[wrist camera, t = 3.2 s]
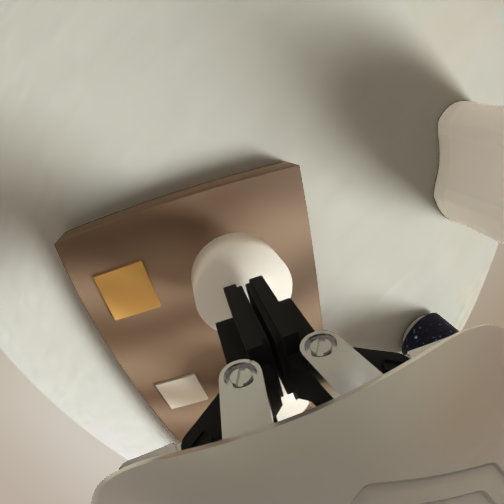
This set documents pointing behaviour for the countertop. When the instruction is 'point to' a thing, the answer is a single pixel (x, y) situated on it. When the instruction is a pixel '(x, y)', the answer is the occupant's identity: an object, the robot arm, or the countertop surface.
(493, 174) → the jar
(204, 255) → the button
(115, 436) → the countertop surface
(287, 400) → the button middle
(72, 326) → the countertop surface
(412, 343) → the beverage can
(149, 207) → the button board
